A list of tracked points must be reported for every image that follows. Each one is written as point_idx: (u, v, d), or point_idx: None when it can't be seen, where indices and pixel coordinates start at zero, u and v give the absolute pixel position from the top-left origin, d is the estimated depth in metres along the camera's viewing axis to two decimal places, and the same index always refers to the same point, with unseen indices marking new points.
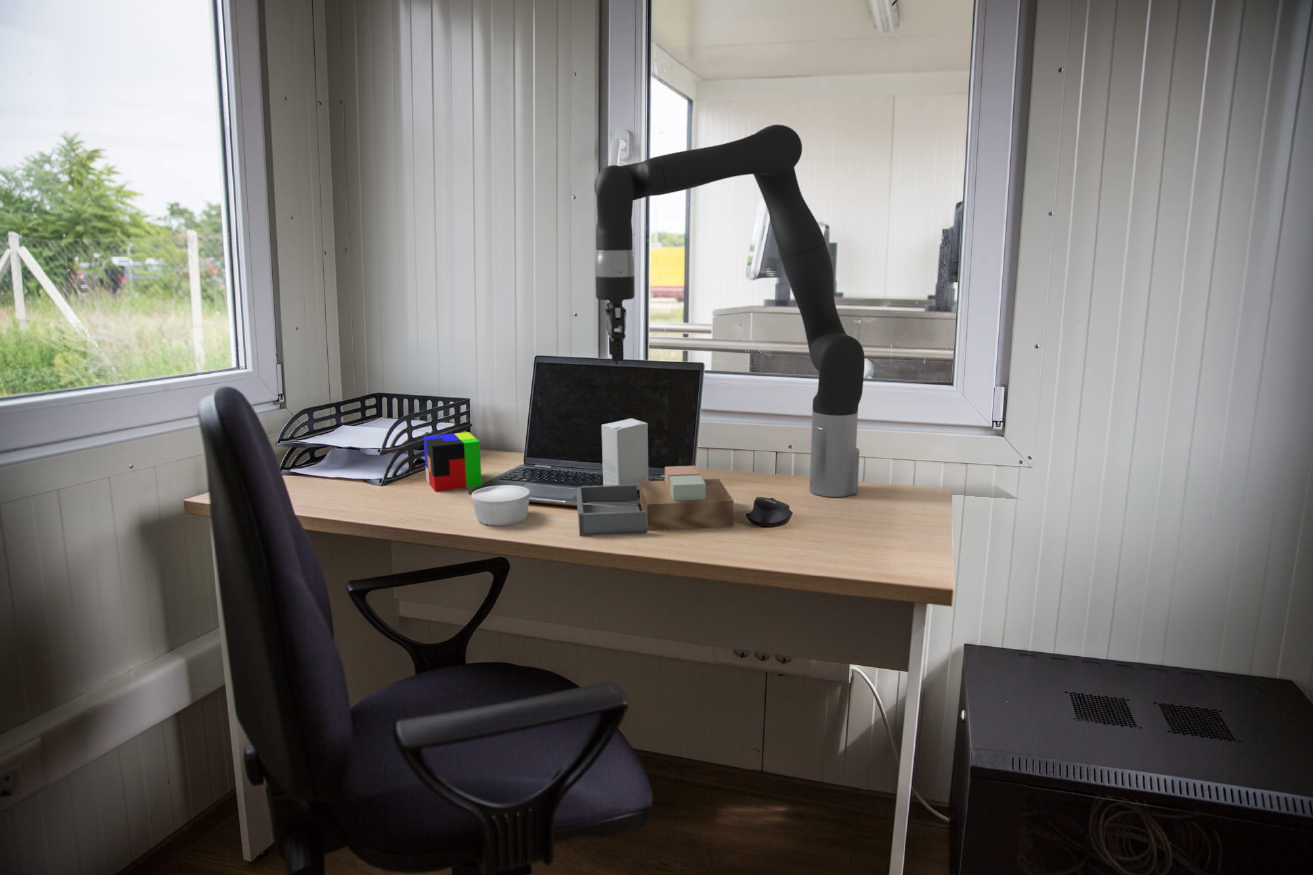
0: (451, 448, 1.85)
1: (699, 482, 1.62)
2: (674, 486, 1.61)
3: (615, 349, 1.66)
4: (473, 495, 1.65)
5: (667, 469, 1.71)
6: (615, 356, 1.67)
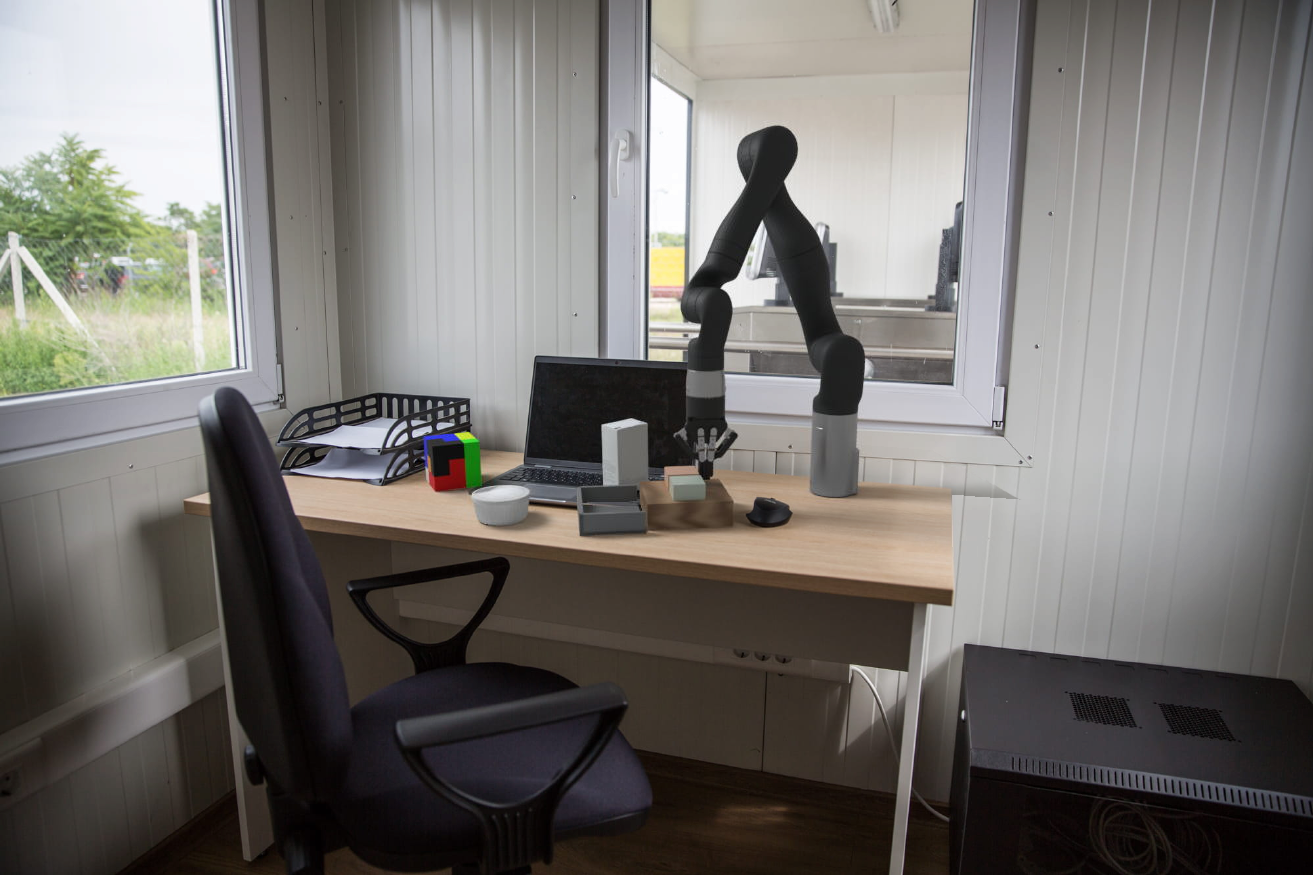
0: (451, 448, 1.85)
1: (699, 482, 1.62)
2: (674, 486, 1.61)
3: None
4: (473, 495, 1.65)
5: (667, 469, 1.71)
6: None
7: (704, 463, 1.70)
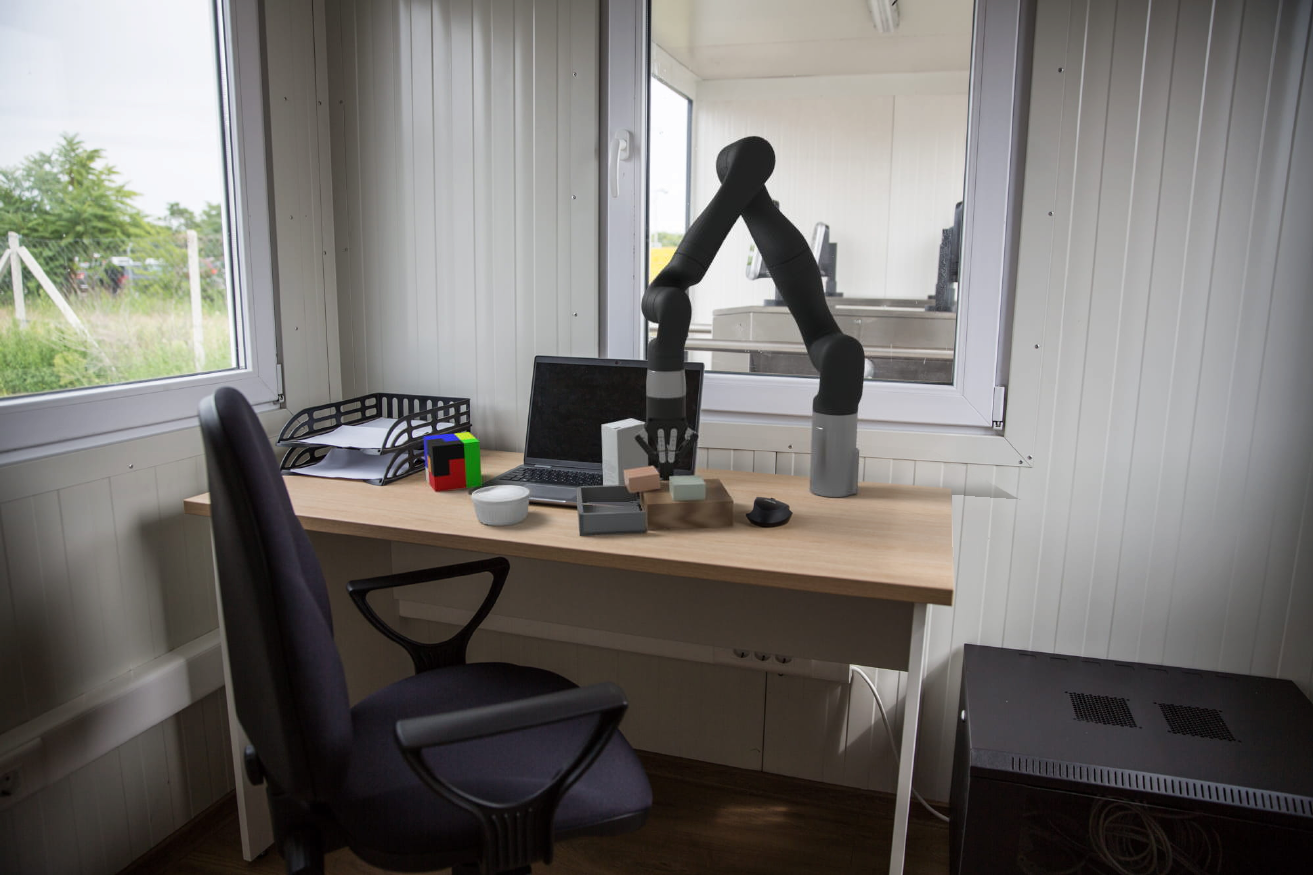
0: (451, 448, 1.85)
1: (699, 482, 1.62)
2: (674, 486, 1.61)
3: (673, 468, 1.70)
4: (473, 495, 1.65)
5: (626, 472, 1.70)
6: None
7: (664, 464, 1.69)
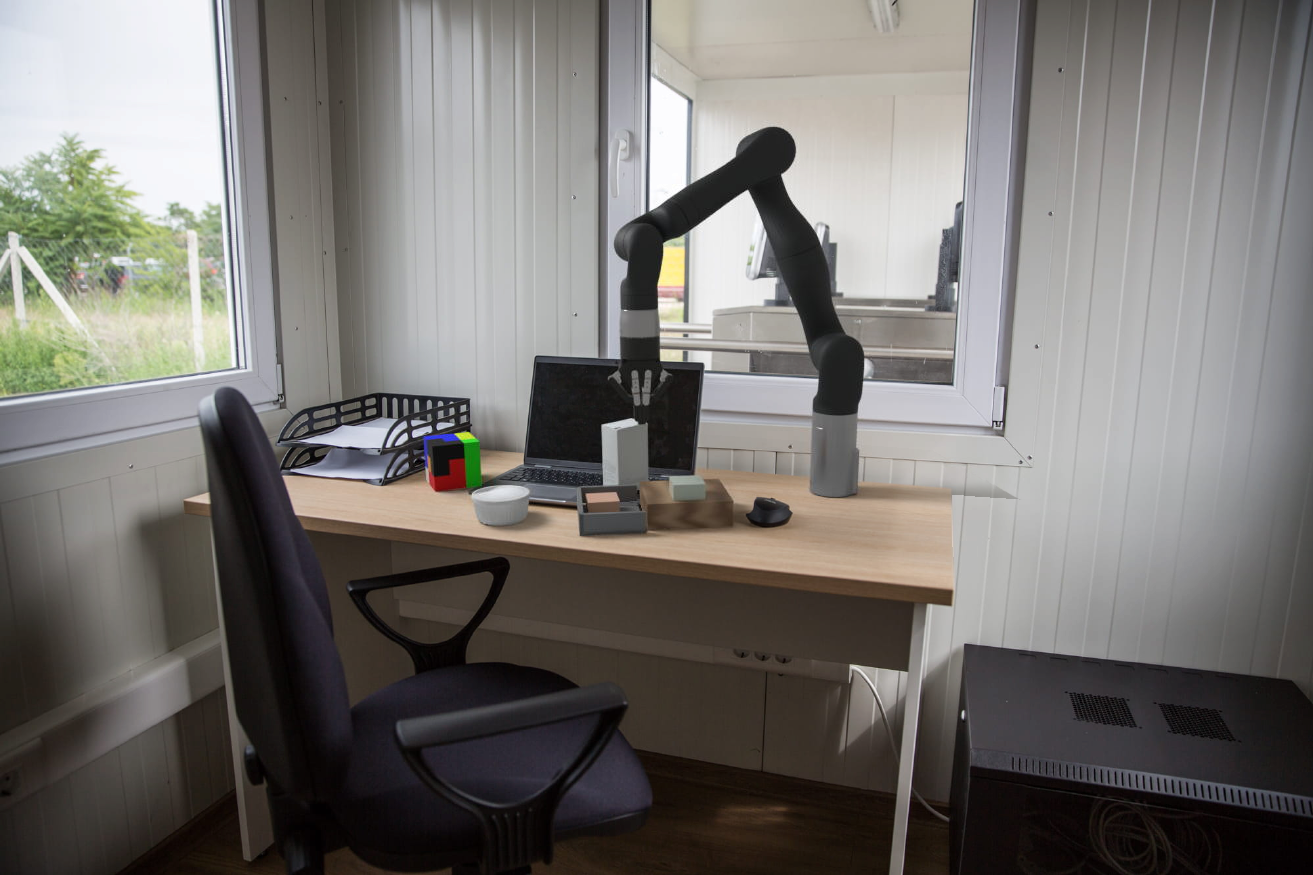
0: (451, 448, 1.85)
1: (699, 482, 1.62)
2: (674, 486, 1.61)
3: None
4: (473, 495, 1.65)
5: None
6: (648, 419, 1.67)
7: (639, 407, 1.65)
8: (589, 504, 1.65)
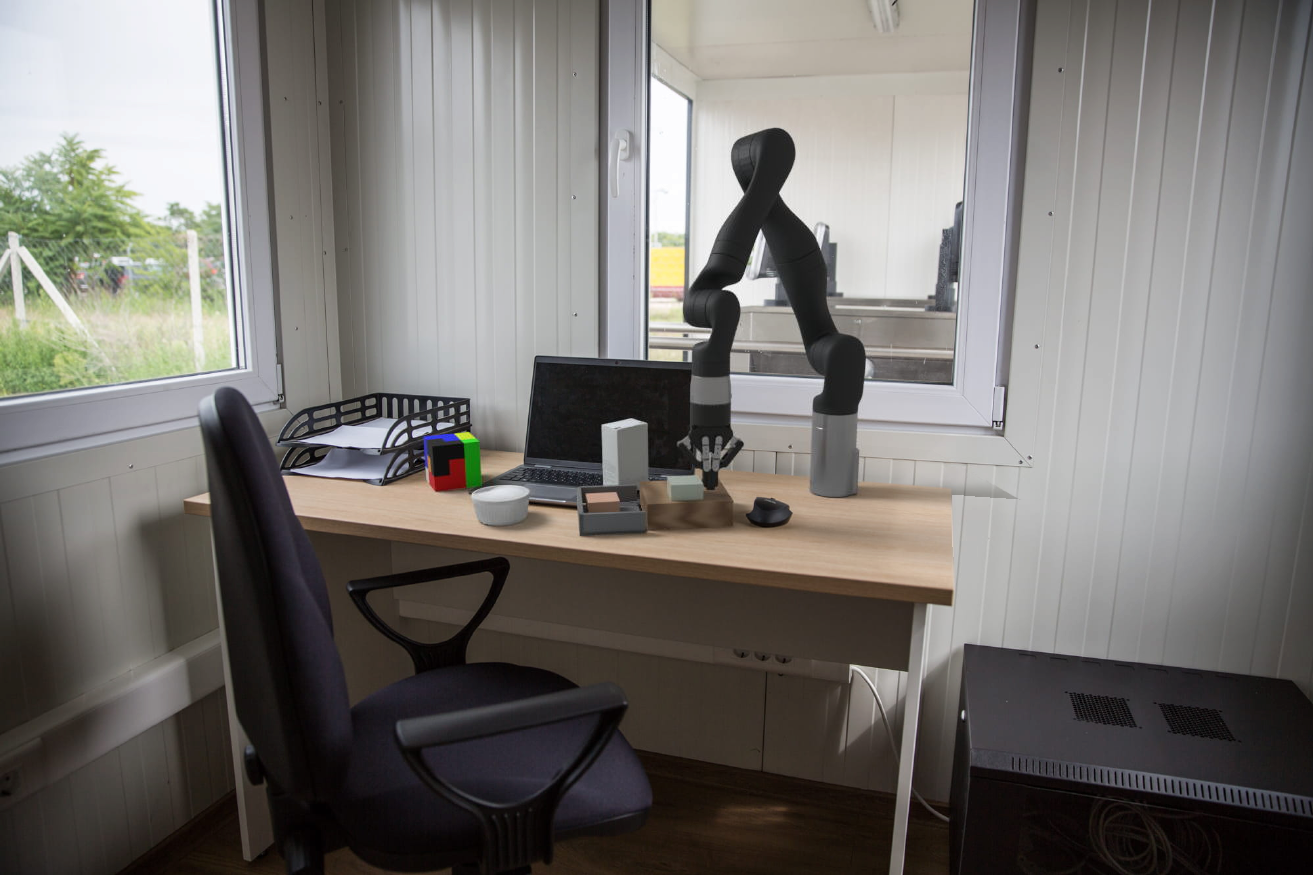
0: (451, 447, 1.85)
1: (697, 482, 1.62)
2: (672, 486, 1.61)
3: None
4: (473, 495, 1.65)
5: None
6: None
7: (709, 473, 1.63)
8: (589, 504, 1.65)
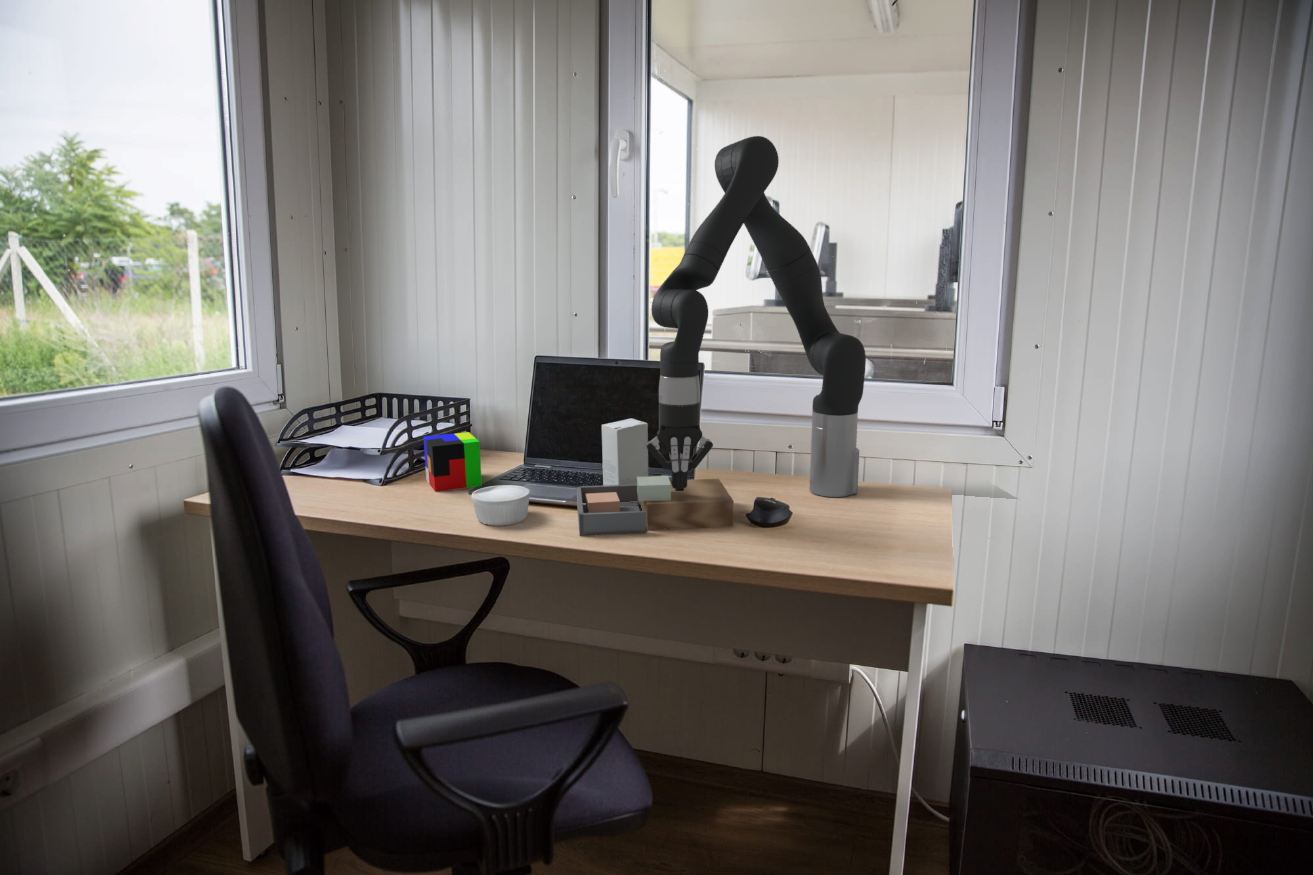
0: (451, 448, 1.85)
1: (665, 483, 1.62)
2: (639, 487, 1.61)
3: None
4: (473, 495, 1.65)
5: None
6: None
7: (677, 473, 1.62)
8: (589, 504, 1.65)
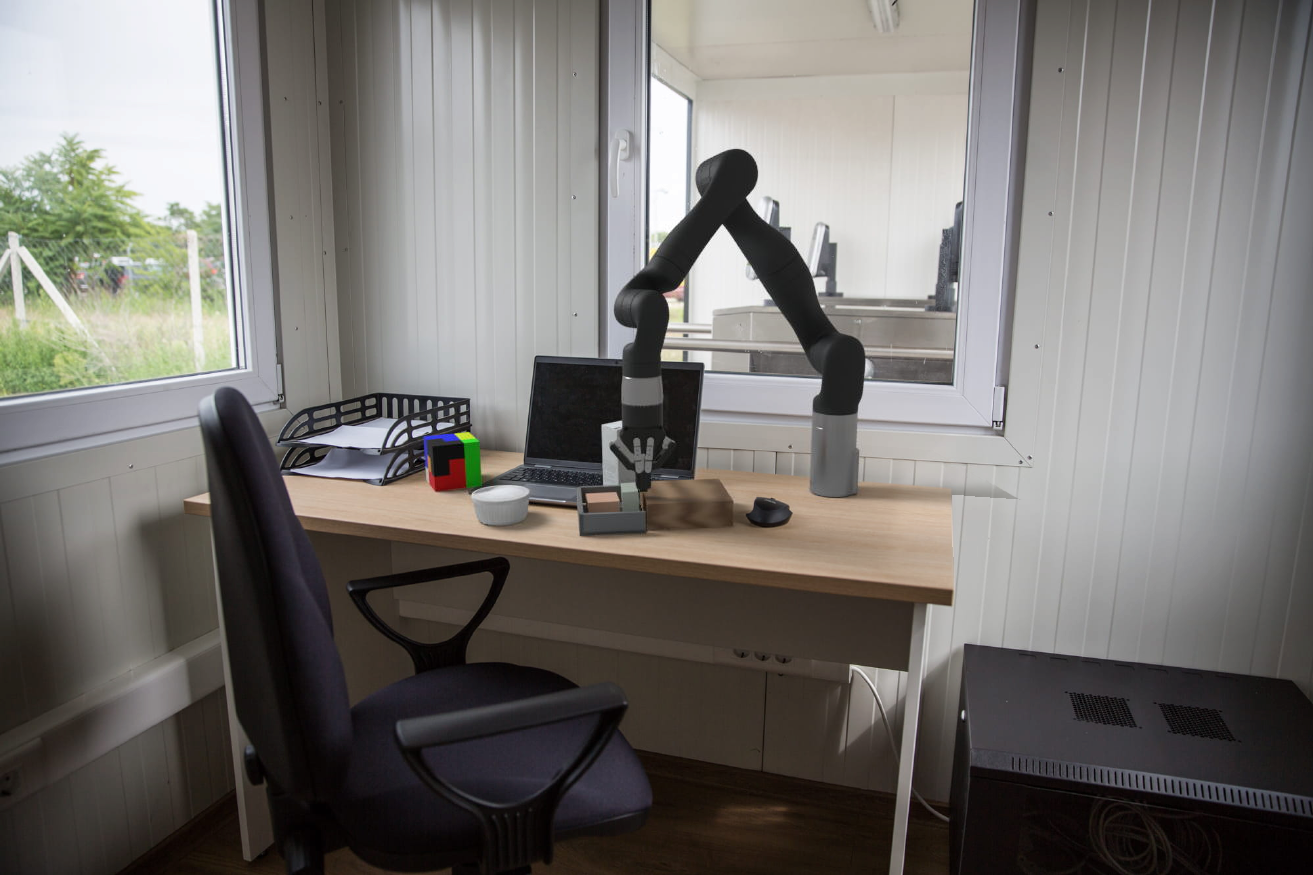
0: (452, 448, 1.85)
1: (622, 496, 1.62)
2: None
3: None
4: (473, 495, 1.65)
5: None
6: (650, 486, 1.63)
7: (641, 474, 1.61)
8: (589, 504, 1.65)
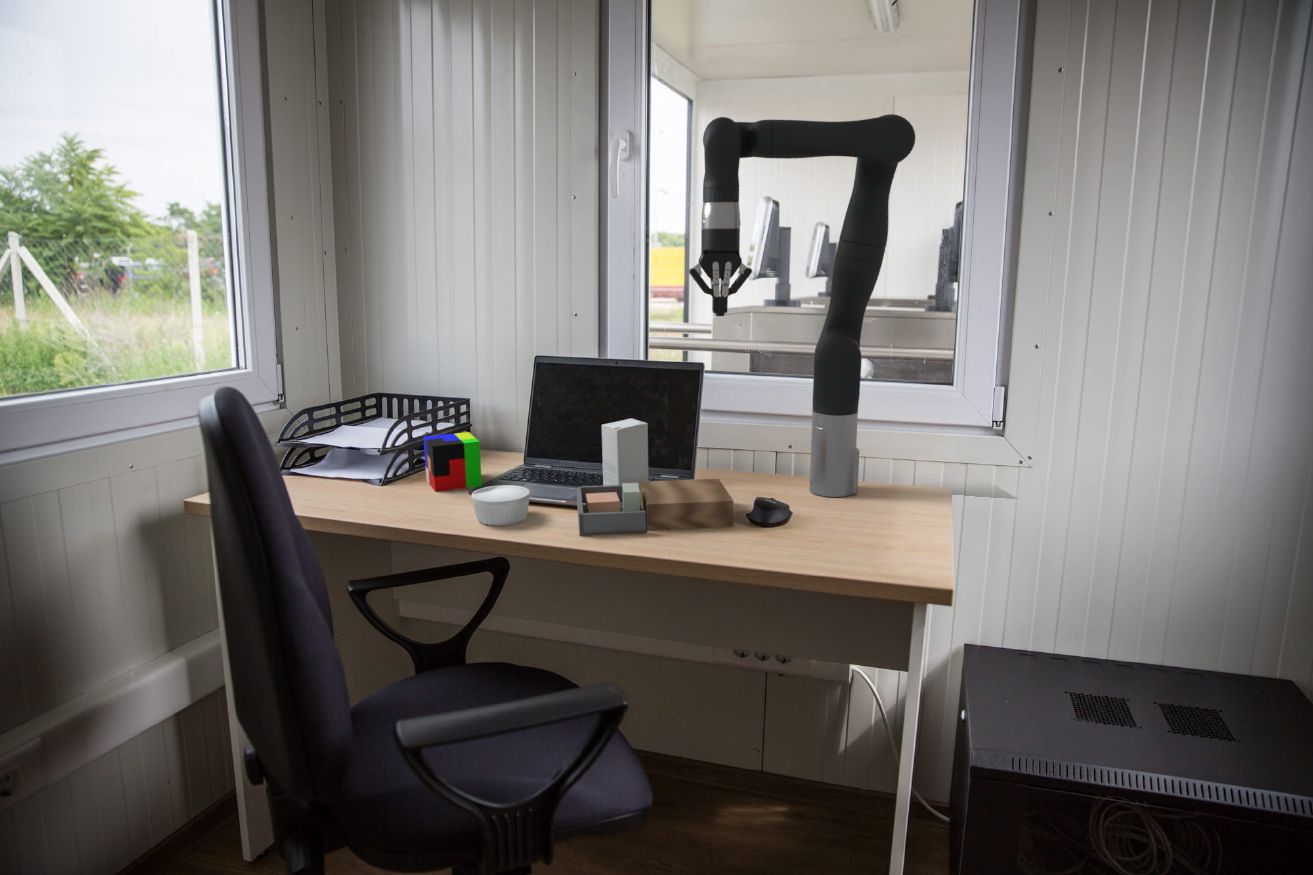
0: (451, 448, 1.85)
1: (623, 495, 1.62)
2: None
3: None
4: (473, 495, 1.65)
5: None
6: None
7: (718, 298, 1.73)
8: (589, 504, 1.65)
